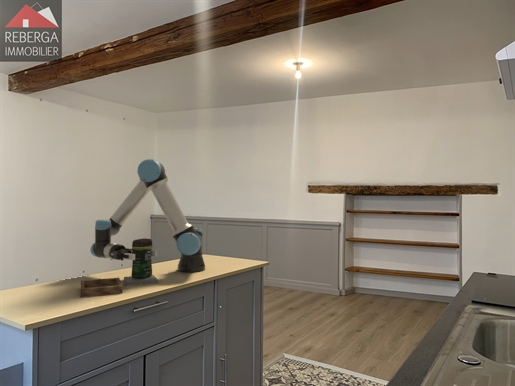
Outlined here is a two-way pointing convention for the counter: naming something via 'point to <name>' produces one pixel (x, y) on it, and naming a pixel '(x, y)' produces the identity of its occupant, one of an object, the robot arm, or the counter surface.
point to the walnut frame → (100, 290)
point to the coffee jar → (142, 258)
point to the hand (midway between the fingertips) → (145, 255)
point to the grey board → (140, 280)
